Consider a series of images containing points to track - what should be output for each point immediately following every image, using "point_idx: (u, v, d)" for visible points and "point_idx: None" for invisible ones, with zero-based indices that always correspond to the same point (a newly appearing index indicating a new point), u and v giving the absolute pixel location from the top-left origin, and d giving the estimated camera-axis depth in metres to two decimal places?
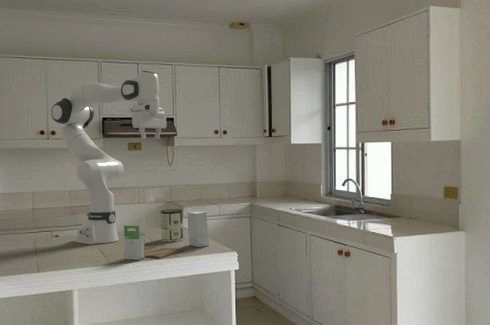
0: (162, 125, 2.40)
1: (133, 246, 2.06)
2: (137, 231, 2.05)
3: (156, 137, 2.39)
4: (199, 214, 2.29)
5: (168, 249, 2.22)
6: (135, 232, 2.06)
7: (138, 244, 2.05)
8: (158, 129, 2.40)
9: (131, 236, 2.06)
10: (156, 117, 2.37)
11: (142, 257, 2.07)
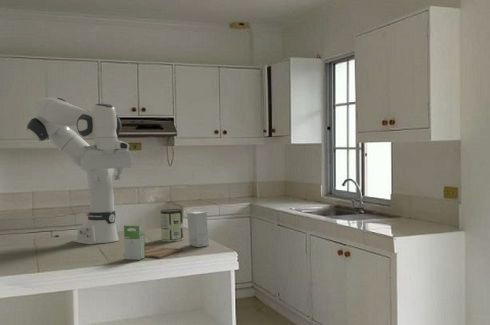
0: None
1: (133, 246, 2.06)
2: (137, 231, 2.05)
3: None
4: (199, 214, 2.29)
5: (168, 249, 2.22)
6: (135, 232, 2.06)
7: (138, 244, 2.05)
8: None
9: (131, 236, 2.06)
10: None
11: (142, 257, 2.07)
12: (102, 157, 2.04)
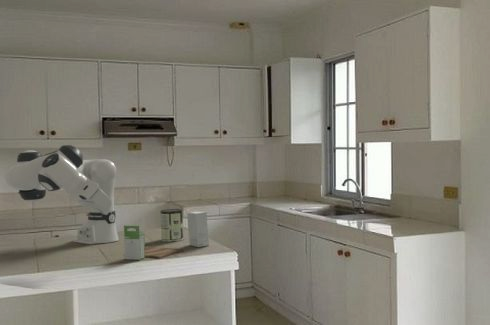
0: None
1: (133, 246, 2.06)
2: (137, 231, 2.05)
3: None
4: (199, 214, 2.29)
5: (168, 249, 2.22)
6: (135, 232, 2.06)
7: (138, 244, 2.05)
8: None
9: (131, 236, 2.06)
10: None
11: (142, 257, 2.07)
12: (84, 200, 1.97)
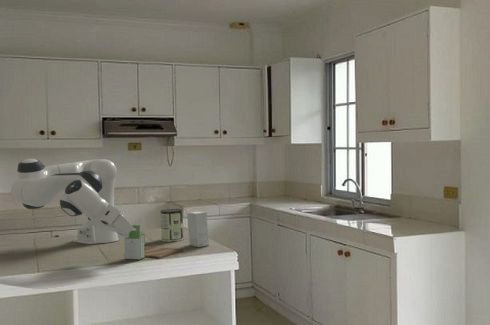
0: None
1: (134, 245, 2.06)
2: (137, 231, 2.06)
3: None
4: (199, 214, 2.29)
5: (168, 249, 2.22)
6: (136, 231, 2.06)
7: (138, 244, 2.05)
8: None
9: (132, 235, 2.06)
10: None
11: (142, 257, 2.07)
12: None
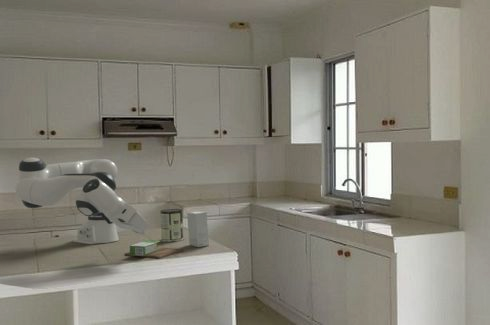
0: None
1: (146, 243, 2.14)
2: (157, 241, 2.19)
3: None
4: (199, 214, 2.29)
5: (168, 249, 2.22)
6: (154, 242, 2.19)
7: (151, 243, 2.15)
8: None
9: (149, 242, 2.18)
10: None
11: (145, 250, 2.09)
12: None
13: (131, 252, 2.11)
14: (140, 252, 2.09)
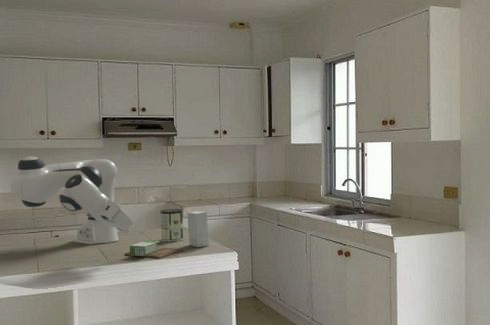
0: None
1: (146, 243, 2.15)
2: (157, 241, 2.19)
3: None
4: (199, 214, 2.29)
5: (168, 249, 2.22)
6: (154, 242, 2.19)
7: (151, 243, 2.15)
8: None
9: (149, 242, 2.18)
10: None
11: (145, 250, 2.09)
12: (105, 219, 2.02)
13: (131, 252, 2.11)
14: (140, 252, 2.09)
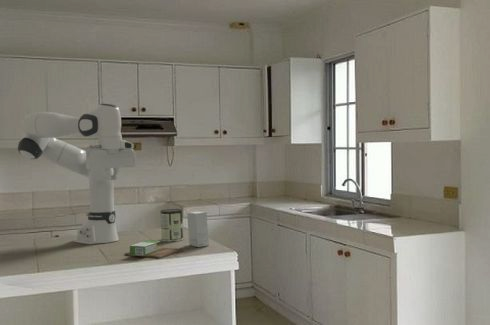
0: None
1: (146, 243, 2.14)
2: (157, 241, 2.19)
3: None
4: (199, 214, 2.29)
5: (168, 249, 2.22)
6: (154, 242, 2.19)
7: (151, 243, 2.15)
8: None
9: (149, 242, 2.18)
10: None
11: (145, 250, 2.09)
12: (107, 157, 2.06)
13: (131, 252, 2.11)
14: (140, 252, 2.09)
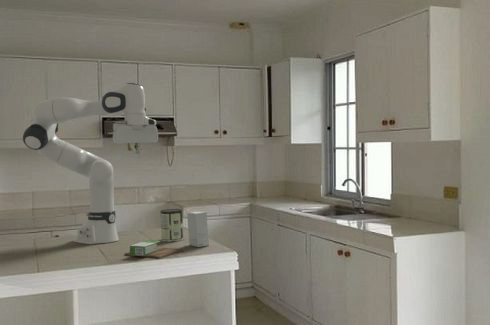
0: None
1: (146, 243, 2.14)
2: (157, 241, 2.19)
3: None
4: (199, 214, 2.29)
5: (168, 249, 2.22)
6: (155, 242, 2.19)
7: (151, 243, 2.15)
8: None
9: (149, 242, 2.18)
10: None
11: (145, 250, 2.09)
12: (132, 132, 2.22)
13: (131, 252, 2.11)
14: (140, 252, 2.09)
